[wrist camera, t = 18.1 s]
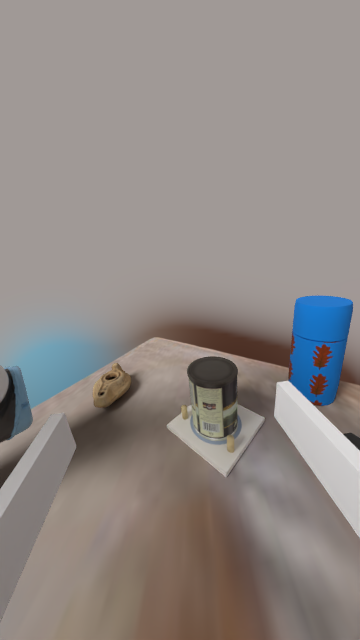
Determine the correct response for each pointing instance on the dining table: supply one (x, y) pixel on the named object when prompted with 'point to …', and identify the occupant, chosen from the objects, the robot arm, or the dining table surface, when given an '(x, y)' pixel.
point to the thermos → (319, 346)
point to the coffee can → (213, 397)
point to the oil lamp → (111, 386)
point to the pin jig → (218, 452)
